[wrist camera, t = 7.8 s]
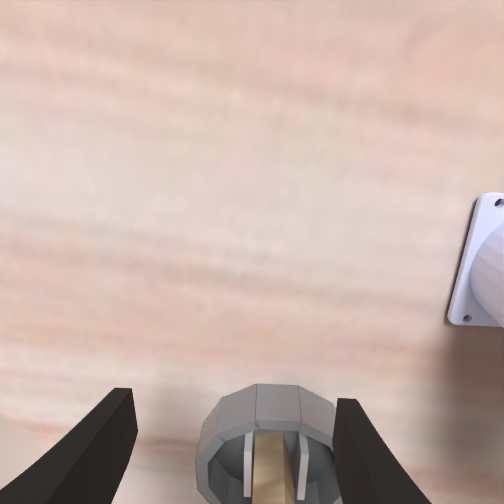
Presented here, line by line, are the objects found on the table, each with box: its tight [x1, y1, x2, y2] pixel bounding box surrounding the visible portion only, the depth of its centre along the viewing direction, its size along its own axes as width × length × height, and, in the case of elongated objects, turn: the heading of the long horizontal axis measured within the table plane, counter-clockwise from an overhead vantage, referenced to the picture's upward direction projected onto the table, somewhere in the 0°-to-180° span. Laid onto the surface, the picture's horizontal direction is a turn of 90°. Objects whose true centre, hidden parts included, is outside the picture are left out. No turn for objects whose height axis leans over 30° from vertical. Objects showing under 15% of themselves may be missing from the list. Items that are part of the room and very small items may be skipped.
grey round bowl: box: [195, 384, 343, 504], centre depth 25 cm, size 11×11×3 cm
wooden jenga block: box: [252, 431, 295, 504], centre depth 23 cm, size 2×3×7 cm, turn 15°
